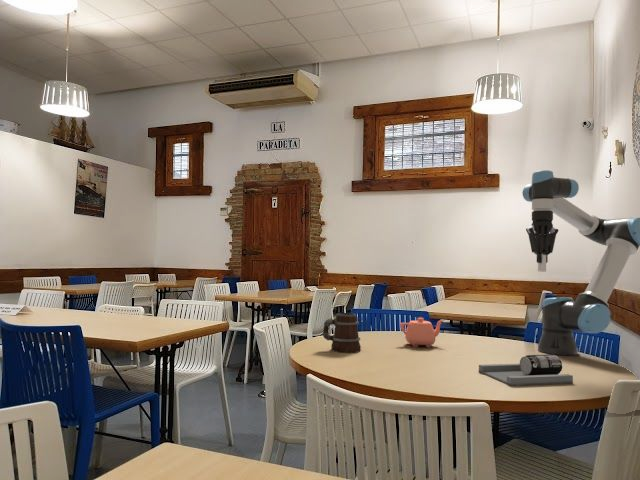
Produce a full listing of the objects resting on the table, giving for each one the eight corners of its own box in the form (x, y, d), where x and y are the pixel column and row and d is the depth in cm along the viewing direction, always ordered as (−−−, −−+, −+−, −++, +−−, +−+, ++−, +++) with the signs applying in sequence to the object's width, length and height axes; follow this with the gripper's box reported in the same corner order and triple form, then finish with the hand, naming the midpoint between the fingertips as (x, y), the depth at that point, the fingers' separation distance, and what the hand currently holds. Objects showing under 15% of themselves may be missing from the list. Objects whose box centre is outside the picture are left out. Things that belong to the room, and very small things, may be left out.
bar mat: (535, 370, 167) (535, 363, 167) (572, 383, 150) (572, 375, 150) (478, 371, 162) (478, 364, 163) (510, 385, 145) (510, 377, 145)
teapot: (448, 348, 204) (449, 320, 205) (402, 348, 204) (403, 319, 204) (439, 343, 218) (439, 316, 218) (396, 342, 217) (396, 315, 217)
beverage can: (548, 370, 162) (517, 371, 160) (550, 351, 162) (519, 352, 159) (562, 377, 156) (530, 379, 153) (564, 358, 155) (532, 359, 153)
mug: (356, 347, 202) (357, 312, 203) (362, 353, 190) (363, 315, 191) (320, 347, 200) (320, 311, 201) (324, 353, 188) (324, 315, 189)
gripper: (550, 212, 190) (550, 271, 189) (521, 210, 187) (521, 270, 186) (563, 210, 183) (563, 272, 182) (533, 209, 180) (533, 271, 179)
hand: (542, 271), depth 184 cm, fingers closed
